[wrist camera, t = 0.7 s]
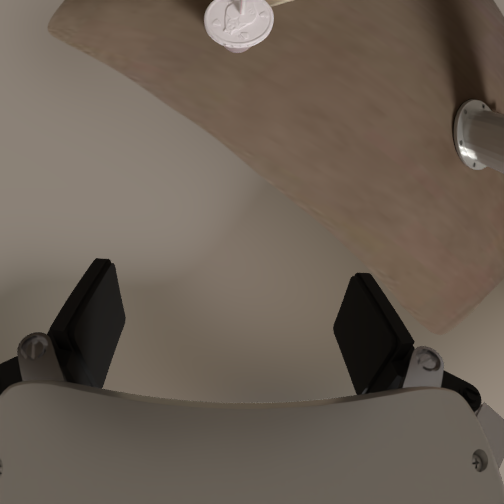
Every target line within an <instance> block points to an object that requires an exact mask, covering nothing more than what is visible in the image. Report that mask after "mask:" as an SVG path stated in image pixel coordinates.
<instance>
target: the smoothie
mask: <svg viewBox="0 0 504 504" xmlns="http://www.w3.org/2000/svg"><path fill="white" fill-rule="evenodd" d="M273 21H274V16H273V11H272V9H271V7H270V6H269V4H268V3H267V2H266V1H265V0H214V1H212V2H211V3H210V5H209V6H208V8H207V9H206V12H205V15H204V24H205V29H206V31H207V33H208V35H209V36H210V37H211V38H212V39H213V40H214V41H216V42H217V43H219V44H220V45H223V46H224V47H225V48H226V49H227V50H229V51H231V52H234V53H240V52H244V51H246V50H248V49H249V48H250V47H251V46H253V45H256V44H258V43H259V42H261V41H263V40H264V39H265V38H266V37H267V36H268V35H269V33H270V31H271V29H272V26H273Z"/></svg>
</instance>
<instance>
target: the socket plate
mask: <svg viewBox="0 0 504 504" xmlns="http://www.w3.org/2000/svg"><path fill="white" fill-rule="evenodd" d="M265 1H266V2H267V3H268V4H269V6H270V7H272V6H275V5H279V4H282V3H286V2H290V1H294V0H265Z"/></svg>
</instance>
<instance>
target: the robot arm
mask: <svg viewBox="0 0 504 504" xmlns="http://www.w3.org/2000/svg"><path fill="white" fill-rule="evenodd" d="M454 141H455V146H456V150H457V153H458V155H459V157H460V159H461V160H462V162H463V163H464V164H465V165H466V166H468V167H470V168H472V169H475V170H481V169H483V168H485V167H487V166H488V167H490V168H493V169H495V170H497V171H499V172H501V173H503V174H504V114H500V113H496V112H492V111H491V110H490V108H489V107H488V106H487V105H486V104H485V103H484V102H482V101H479V100H473V99H471V100H467V101H466V102H464V103H463V104H462V105H461V106H460V108H459V110H458V112H457V115H456V118H455V122H454ZM124 324H125V313H124V308H123V304H122V299H121V295H120V290H119V285H118V279H117V274H116V268H115V265H114V263H111V261H110V260H109V259H98V258H96V259H95V260H94V261H93V263H92V264H91V265H90V267H89V268H88V270H87V271H86V272H85V274H84V275H83V277H82V278H81V280H80V281H79V283H78V284H77V286H76V287H75V289H74V290H73V292H72V293H71V295H70V296H69V298H68V299H67V301H66V302H65V304H64V306H63V307H62V309H61V310H60V312H59V314H58V316H57V317H56V319H55V320H54V322H53V324H52V325H51V327H50V330H49V332H48V334H47V335H46V334H45V333H42V332H35V333H31V334H29V335H27V336H26V337H24V338H23V339H22V340H21V342H20V343H19V346H18V348H17V355H18V356H17V357H14V358H12V359H10V360H8V361H6V362H3V363H2V364H0V504H504V485H503V481H502V478H501V475H500V472H499V467H500V465H501V463H502V461H503V458H504V419H503V418H502V417H501V416H499V415H498V414H497V413H496V412H495V411H494V410H493V409H492V408H490V407H489V406H488V405H487V404H486V403H485V402H484V403H483V404H481V396H480V393H479V391H478V390H477V389H476V388H475V387H474V386H473V385H471V384H470V383H468V382H466V381H464V380H462V379H460V378H458V377H456V376H454V375H452V374H450V373H448V372H446V371H444V363H443V360H442V357H441V356H440V355H439V353H437V352H436V351H435V350H434V349H432V348H429V347H426V346H420V347H417V348H416V349H414V347H413V344H414V340H413V339H412V337H411V335H410V333H409V332H408V330H407V329H406V327H405V325H404V324H403V322H402V320H401V319H400V317H399V316H398V314H397V313H396V311H395V309H394V308H393V306H392V305H391V303H390V302H389V301H388V299H387V297H386V296H385V294H384V293H383V291H382V290H381V288H380V287H379V285H378V284H377V282H376V281H375V280H374V278H373V277H372V275H371V274H369V273H356V274H355V276H352V277H351V279H350V282H349V285H348V288H347V290H346V293H345V296H344V299H343V302H342V304H341V307H340V310H339V313H338V315H337V318H336V321H335V323H334V327H333V330H334V334H335V337H336V340H337V342H338V344H339V348H340V350H341V353H342V355H343V358H344V361H345V364H346V366H347V369H348V372H349V374H350V377H351V380H352V383H353V385H354V388H355V391H356V394H357V395H354V396H347V397H339V398H331V399H321V400H309V401H294V402H274V403H273V402H272V403H224V402H203V401H188V400H177V399H166V398H157V397H150V396H142V395H136V394H129V393H124V392H117V391H111V390H105V389H102V387H103V385H104V381H105V379H106V375H107V372H108V369H109V366H110V363H111V360H112V358H113V355H114V352H115V349H116V346H117V343H118V341H119V338H120V335H121V332H122V330H123V327H124Z"/></svg>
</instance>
